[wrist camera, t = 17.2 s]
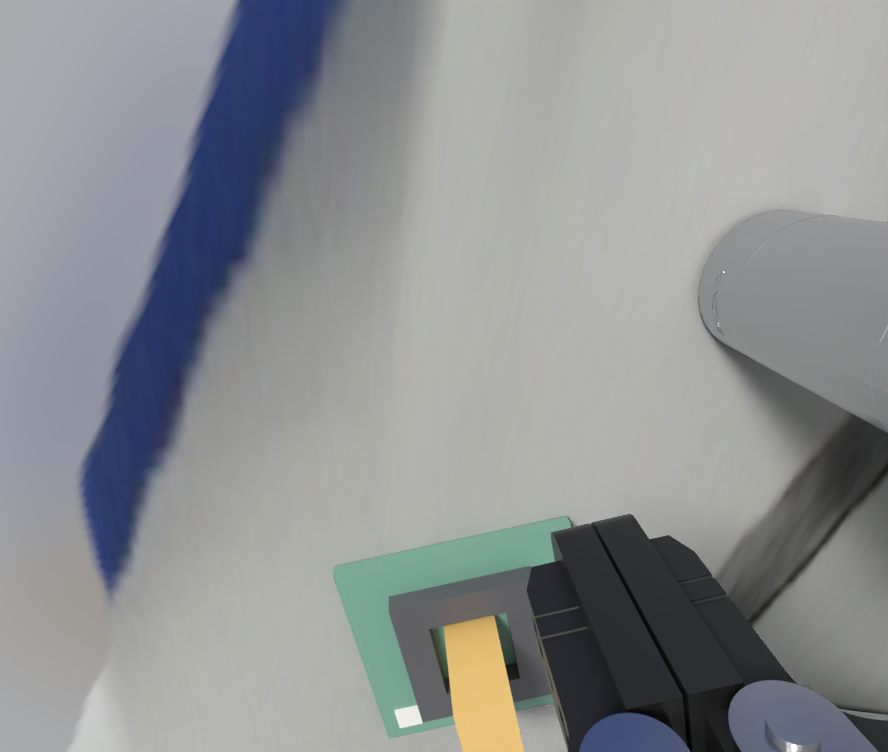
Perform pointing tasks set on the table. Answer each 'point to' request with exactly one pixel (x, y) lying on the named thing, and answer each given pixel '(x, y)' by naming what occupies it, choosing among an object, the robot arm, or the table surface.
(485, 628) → the amber plug
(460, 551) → the socket board
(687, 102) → the table surface
